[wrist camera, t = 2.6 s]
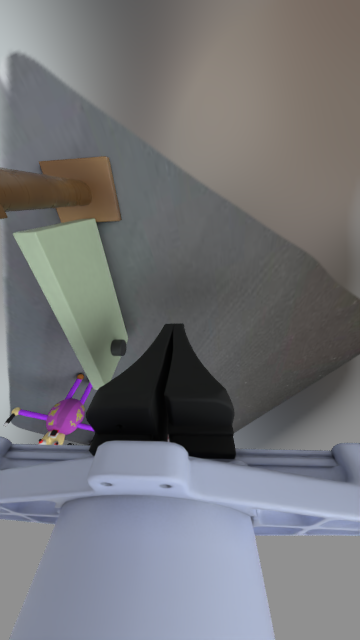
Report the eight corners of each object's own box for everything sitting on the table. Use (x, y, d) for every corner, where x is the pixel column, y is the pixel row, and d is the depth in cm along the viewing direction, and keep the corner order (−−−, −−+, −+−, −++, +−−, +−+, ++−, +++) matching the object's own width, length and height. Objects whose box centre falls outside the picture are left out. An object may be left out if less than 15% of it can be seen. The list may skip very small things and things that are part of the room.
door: (136, 338, 22) (118, 389, 16) (118, 339, 22) (94, 389, 16) (107, 217, 15) (53, 230, 9) (80, 219, 15) (11, 233, 9)
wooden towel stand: (121, 220, 15) (43, 246, 7) (65, 223, 16) (-75, 252, 7) (108, 157, 13) (-30, 87, 5) (43, 162, 13) (-195, 105, 5)
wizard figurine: (124, 382, 28) (90, 484, 18) (120, 393, 30) (86, 492, 20) (48, 361, 26) (-39, 463, 16) (48, 374, 28) (-31, 474, 18)
